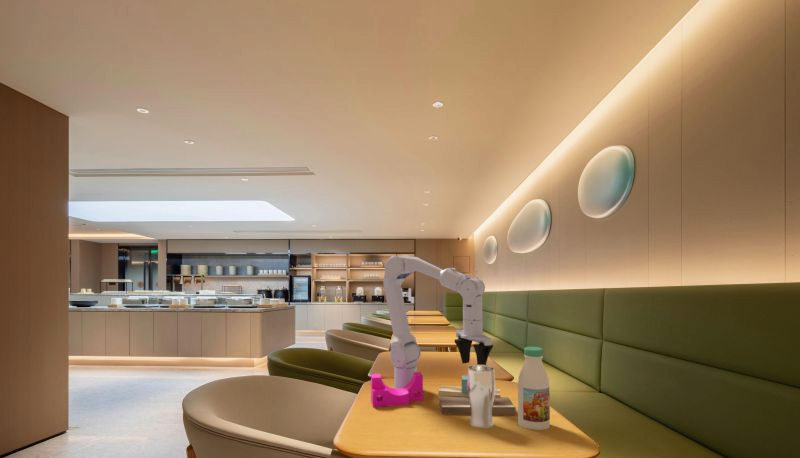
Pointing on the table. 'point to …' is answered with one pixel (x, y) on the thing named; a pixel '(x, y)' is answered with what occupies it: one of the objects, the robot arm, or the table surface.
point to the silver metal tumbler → (481, 395)
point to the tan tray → (456, 392)
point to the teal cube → (464, 384)
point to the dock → (463, 407)
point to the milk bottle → (533, 392)
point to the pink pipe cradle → (396, 391)
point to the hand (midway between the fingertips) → (473, 365)
